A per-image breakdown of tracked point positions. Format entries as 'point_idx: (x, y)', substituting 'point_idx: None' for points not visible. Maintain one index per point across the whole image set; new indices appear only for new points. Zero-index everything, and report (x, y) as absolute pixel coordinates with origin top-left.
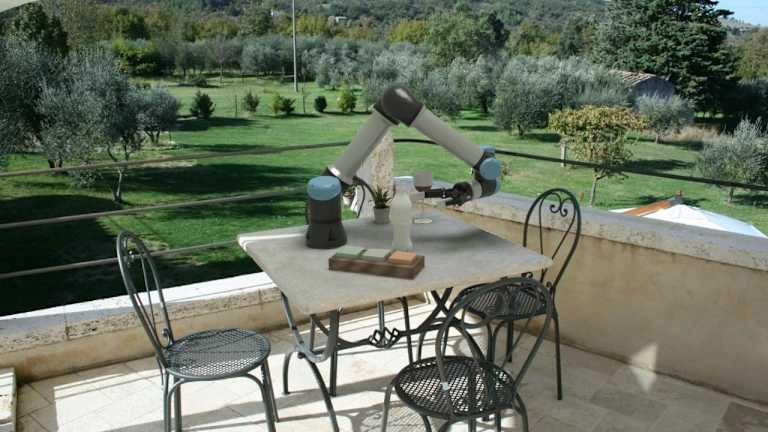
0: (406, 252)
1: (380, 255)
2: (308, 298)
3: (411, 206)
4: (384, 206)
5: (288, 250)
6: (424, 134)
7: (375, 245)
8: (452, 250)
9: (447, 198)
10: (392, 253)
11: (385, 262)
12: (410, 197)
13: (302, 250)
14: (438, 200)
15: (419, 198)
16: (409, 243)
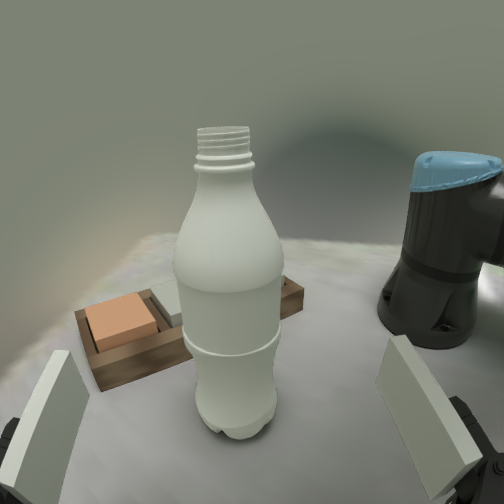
0: (124, 329)
1: (163, 289)
2: (171, 238)
3: (177, 274)
4: None
5: (393, 268)
6: None
7: (362, 392)
8: None
9: (21, 447)
10: (177, 332)
11: (145, 299)
12: (390, 353)
13: (386, 279)
14: (62, 365)
15: (414, 441)
16: (197, 396)
